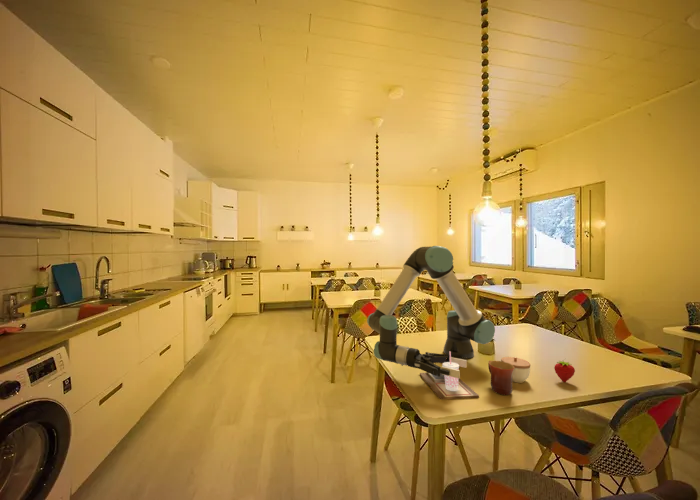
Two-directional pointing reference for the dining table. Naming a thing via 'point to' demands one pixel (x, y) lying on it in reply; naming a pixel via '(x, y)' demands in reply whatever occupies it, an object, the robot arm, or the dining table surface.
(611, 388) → the dining table surface
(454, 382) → the beverage cup
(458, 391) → the stamp board
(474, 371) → the dining table surface
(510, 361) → the lidded jar
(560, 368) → the strawberry
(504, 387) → the mug
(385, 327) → the robot arm
